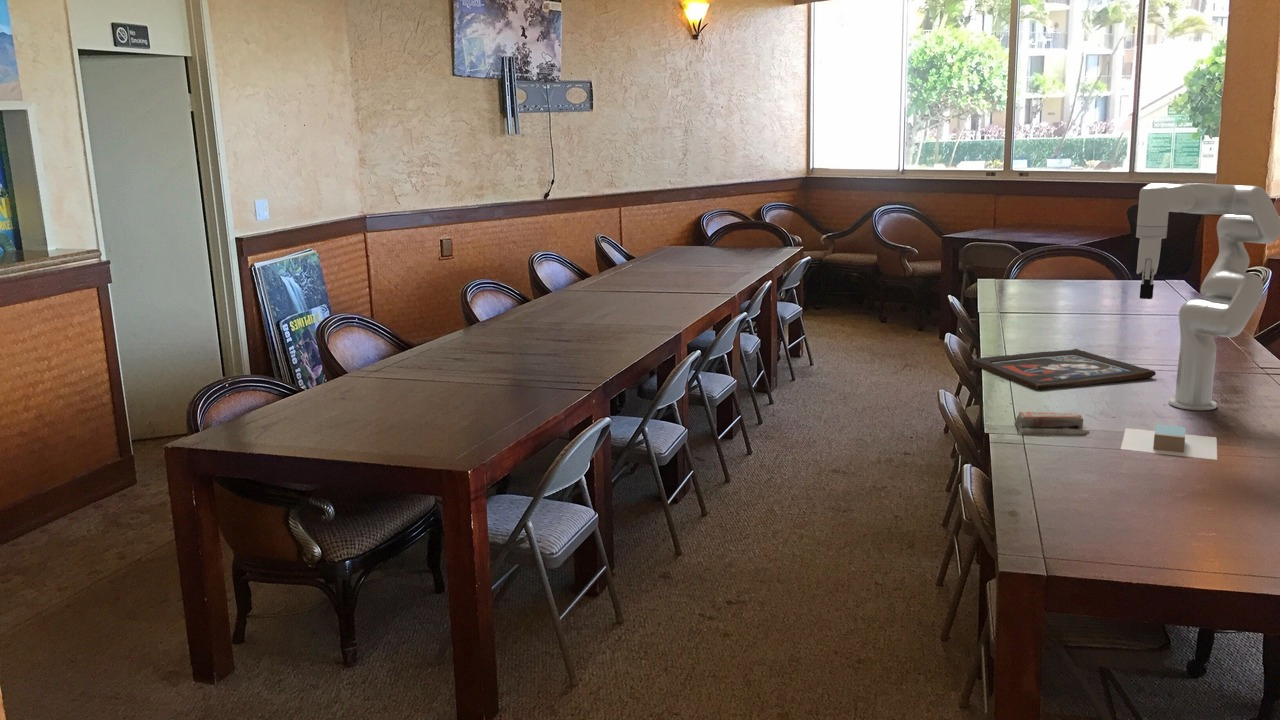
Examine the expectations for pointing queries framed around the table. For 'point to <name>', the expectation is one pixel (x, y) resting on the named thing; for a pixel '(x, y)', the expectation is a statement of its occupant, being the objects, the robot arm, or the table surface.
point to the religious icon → (1061, 369)
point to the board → (1192, 448)
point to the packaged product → (1050, 423)
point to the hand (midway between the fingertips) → (1146, 298)
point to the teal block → (1169, 438)
